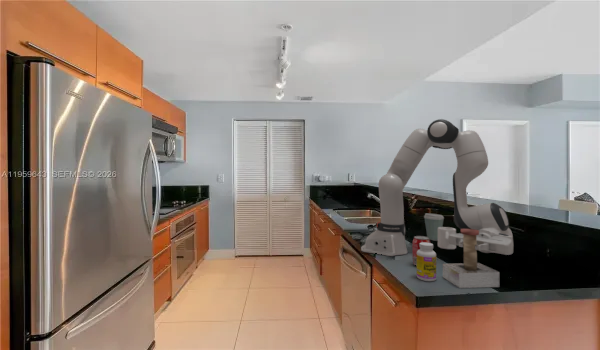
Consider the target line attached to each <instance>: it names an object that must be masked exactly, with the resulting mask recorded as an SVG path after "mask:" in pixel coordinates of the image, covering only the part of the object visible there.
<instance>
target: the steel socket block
mask: <svg viewBox="0 0 600 350" xmlns="http://www.w3.org/2000/svg"><path fill="white" fill-rule="evenodd" d="M442 278H443V279H445V280H447V281H448V282H449V283H451V284H453V285H454V286H455V287H457V288H458V289H469V288H470V289H471V288H472V289H474V288H500V287H501V286H500V271H498V270H496V269H493V268H492V267H489V266H487V265H486V264H485V265H484V264H482V263H480V262H477V271H467V270H465V269H464V262H463V263H461V262H460V263H459V262H458V263H442Z"/></svg>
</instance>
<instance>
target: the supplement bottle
mask: <svg viewBox="0 0 600 350" xmlns="http://www.w3.org/2000/svg"><path fill="white" fill-rule="evenodd" d="M419 247H420V249H419V250H418V251H417V266H416V277H417V279H419V280H421V281H425V282H435V281H436V280H437V253H436V252H435V251H434V250H433V249H434V244H433V243H431V242H430V243H426V242H422V243H419Z"/></svg>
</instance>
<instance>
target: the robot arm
mask: <svg viewBox="0 0 600 350" xmlns="http://www.w3.org/2000/svg"><path fill="white" fill-rule="evenodd" d="M431 147H432V148H435V149H441V150H450V149H453V151H454V153H455V157H456V161H457V162H456V163H457V166H456V170H455V172H454V173H453V175H452V193H453V204H454V205H453V208H454V210H453V211H454V213H453V221H454V225H456V227H457V228H458V229H460V230H461V229H475V230H479V235H476V239H477V244H476V245H475V250H477V251H479V252H481V253H484V254H490V253H493V254H494V253H495V254H501V255H505V256H507V255H508V256H509V255H512V254H513V253H514V236H513V233H512V230H511V228H510V220H509V217H508V214H507V211H506V210H505V209H504V208H503V207H502V206H501V205H499V204H498V203H495V202H491V203H483V204H479V205H474V206H473V205H472V206H469V205H468V194H467V188H468V185H469V184H471V182H473V181H474V179H476V178H478V177H479V176H481V175H482V174H484V172H485V171H486V169H487V168H488V166H489V158H488V154H487V150H486V146H485V145H484V142H483V141H482V139H481V136H480V135H479V133H478V132H477V131H475V130H470V129H469V130H463V131H460V129H459V128H458V127H457V126H455V125H454V124H453V123H452V122H451V121H449V120H447V119H443V118H441V119H440V118H439V119H436V120H433V121H432V122H431V123H429V125H428V127H427V129H425V128H416V129H415V130H413V131H412V132H411V133H410V134H409V136H408V137H407V138H406V140H405V141H404V142H403V144H402V145H401V147H400V148H399V151H398V152H397V154H396V155H395V157H394V159H393V160H392V163H391V165H390V167H389V169H388V170H387V172H386V174H384V175H382V176H381V177H380V179H379V182H378V196H379V204H380V221H377V223H376V230H374V231H373V232H371V234H369V235H368V236H367V237H366V240H365V243H364V244H363V245H362V246H361V247H360V251H361V252H364V253H370V254H375V253H377V254H376V255H381V254H382V255H381V256H387V257H394V256H400V255H407V254H408V249H407V245H406V237H405V235H406V223H405V219H404V217H405V216H404V215H405V212H404V211H405V207H404V194H403V193H404V189H405V187H406V185H407V183H408V182H409V181H410V180H411V177H412V175H413V174H414V172H415V171H416V169H417V167H418V166H419V164H420V163H421V161H422V159H423V158H424V156H425V155H426V153H427V151H428V150H429V149H431ZM448 242H449V244H452V245H456V246H458V247H460V248H464V245H463V234H461V232H459V233H457V232H456V234H450V235H449V236H448Z"/></svg>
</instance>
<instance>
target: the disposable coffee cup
mask: <svg viewBox="0 0 600 350" xmlns="http://www.w3.org/2000/svg"><path fill="white" fill-rule="evenodd" d="M423 218H424V223H425V229H426V237H428V238H429V241H435V242H438V228H439V227H444V226H443V225H444V219H445V217H444V216H443V215H442V214H437V213H424V215H423Z"/></svg>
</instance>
